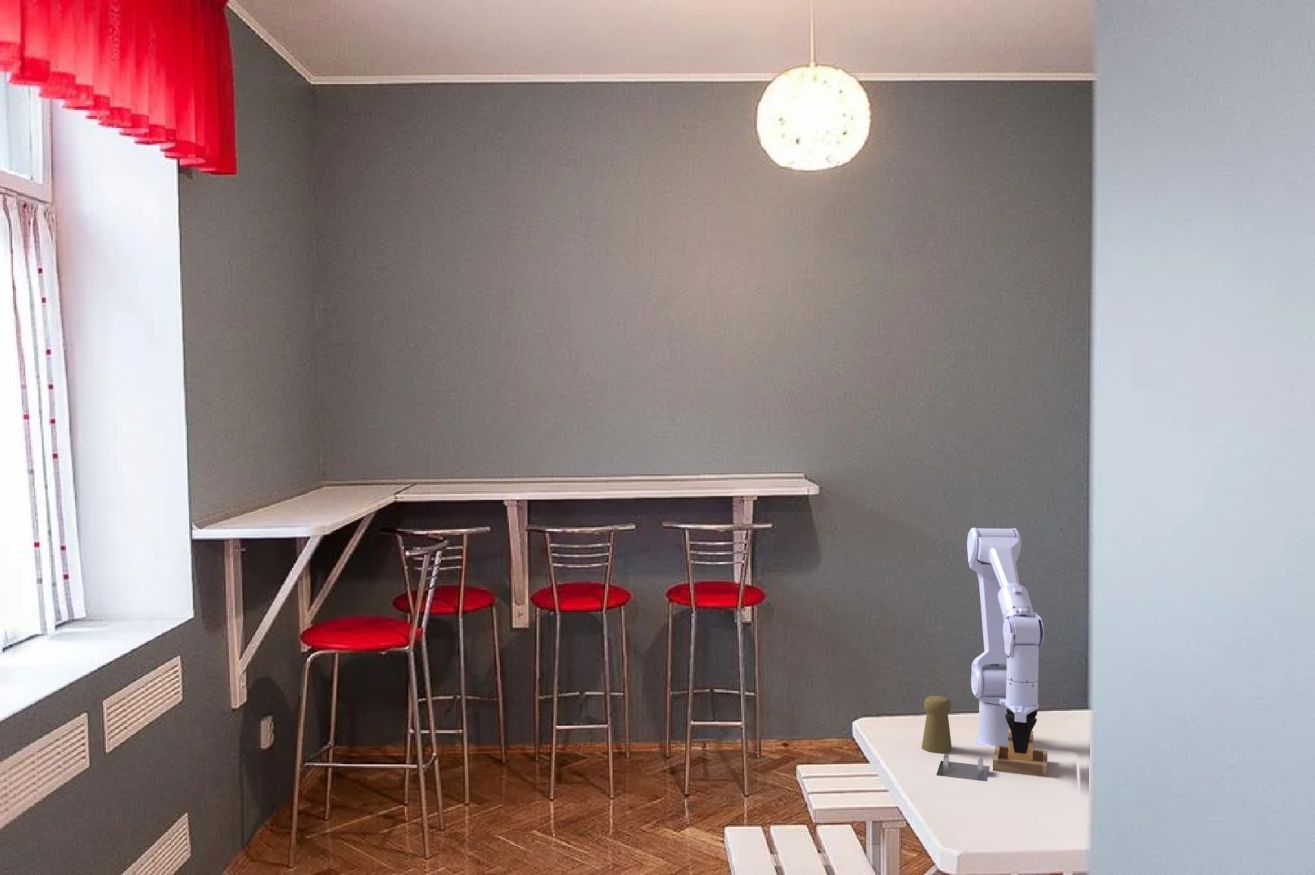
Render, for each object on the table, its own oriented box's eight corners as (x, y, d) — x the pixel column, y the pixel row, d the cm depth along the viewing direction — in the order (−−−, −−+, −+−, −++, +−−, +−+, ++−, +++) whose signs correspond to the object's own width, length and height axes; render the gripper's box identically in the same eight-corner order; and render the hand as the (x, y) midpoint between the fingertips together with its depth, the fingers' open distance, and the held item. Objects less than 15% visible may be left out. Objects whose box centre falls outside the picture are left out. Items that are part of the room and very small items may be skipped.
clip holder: (940, 763, 213) (941, 748, 213) (989, 769, 210) (989, 753, 209) (936, 778, 204) (936, 762, 204) (986, 784, 201) (987, 768, 201)
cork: (953, 757, 217) (954, 701, 216) (921, 755, 218) (922, 699, 218) (951, 748, 223) (952, 694, 222) (920, 746, 224) (921, 692, 223)
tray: (995, 758, 216) (995, 745, 216) (1047, 764, 213) (1047, 751, 213) (992, 773, 207) (992, 760, 207) (1046, 780, 204) (1047, 766, 204)
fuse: (1008, 754, 212) (1008, 728, 212) (1033, 757, 211) (1033, 731, 210) (1007, 758, 209) (1008, 732, 209) (1032, 761, 208) (1033, 735, 208)
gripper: (1001, 668, 218) (1000, 737, 218) (998, 686, 204) (996, 758, 204) (1039, 672, 215) (1038, 741, 216) (1038, 689, 202) (1037, 763, 202)
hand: (1020, 750), depth 210 cm, fingers closed on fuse, 3 cm apart
